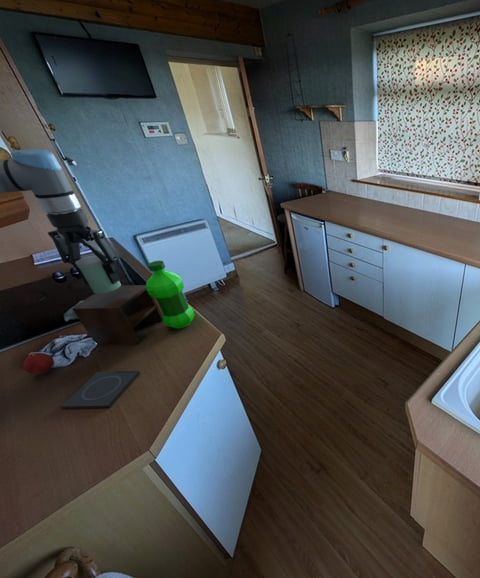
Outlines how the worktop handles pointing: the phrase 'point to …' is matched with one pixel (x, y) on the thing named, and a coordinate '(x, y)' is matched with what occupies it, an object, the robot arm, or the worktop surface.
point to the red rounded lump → (38, 363)
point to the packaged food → (71, 314)
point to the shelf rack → (117, 314)
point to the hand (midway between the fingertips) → (103, 281)
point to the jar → (96, 274)
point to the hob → (101, 390)
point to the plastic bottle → (169, 296)
